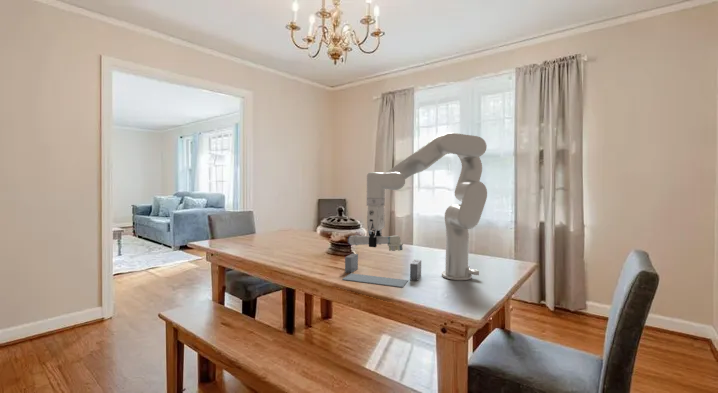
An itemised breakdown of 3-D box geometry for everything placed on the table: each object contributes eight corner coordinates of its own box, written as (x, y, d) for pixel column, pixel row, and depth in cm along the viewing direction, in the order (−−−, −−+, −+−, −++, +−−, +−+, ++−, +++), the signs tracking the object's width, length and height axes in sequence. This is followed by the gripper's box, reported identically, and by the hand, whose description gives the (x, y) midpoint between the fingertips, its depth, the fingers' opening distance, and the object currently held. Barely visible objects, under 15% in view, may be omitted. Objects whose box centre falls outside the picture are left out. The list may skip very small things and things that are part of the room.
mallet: (352, 234, 150) (403, 232, 137) (354, 249, 150) (405, 248, 137) (346, 236, 146) (398, 234, 132) (347, 251, 146) (400, 251, 132)
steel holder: (421, 275, 149) (421, 260, 149) (417, 281, 142) (417, 264, 141) (352, 268, 161) (352, 253, 161) (345, 272, 154) (345, 257, 154)
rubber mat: (408, 281, 141) (408, 280, 141) (402, 287, 133) (402, 286, 133) (350, 274, 151) (350, 273, 151) (342, 279, 143) (342, 278, 143)
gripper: (377, 204, 131) (377, 250, 132) (390, 201, 147) (389, 242, 148) (359, 203, 134) (359, 248, 135) (374, 200, 150) (373, 241, 151)
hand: (375, 245), depth 141 cm, fingers closed on mallet, 5 cm apart
